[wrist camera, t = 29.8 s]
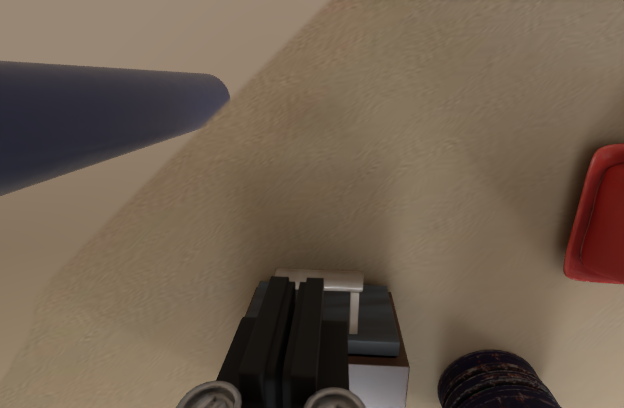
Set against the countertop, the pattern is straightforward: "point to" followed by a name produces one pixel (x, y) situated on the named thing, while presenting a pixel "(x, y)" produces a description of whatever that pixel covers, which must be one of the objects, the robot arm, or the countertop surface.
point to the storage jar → (493, 383)
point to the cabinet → (379, 375)
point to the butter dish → (599, 221)
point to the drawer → (348, 309)
